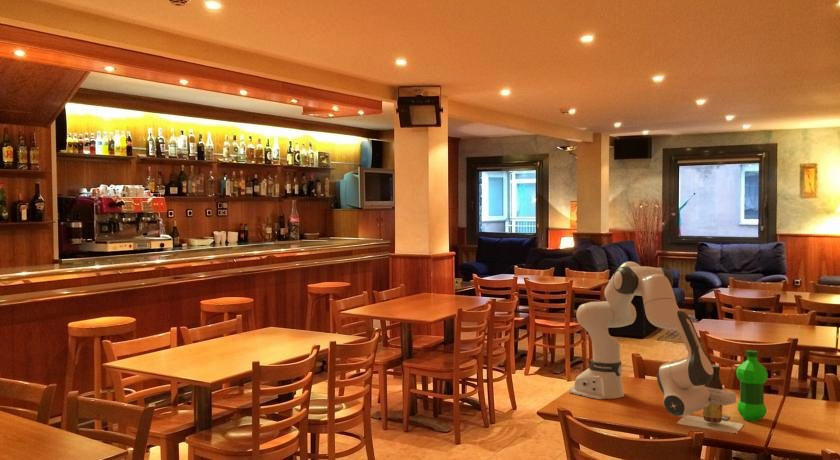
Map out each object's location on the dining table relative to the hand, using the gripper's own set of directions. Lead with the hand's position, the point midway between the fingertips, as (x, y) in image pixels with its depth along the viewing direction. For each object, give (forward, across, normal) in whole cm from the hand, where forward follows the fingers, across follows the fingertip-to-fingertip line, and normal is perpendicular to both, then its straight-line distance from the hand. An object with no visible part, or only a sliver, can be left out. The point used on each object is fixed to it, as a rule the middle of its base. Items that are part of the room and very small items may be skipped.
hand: (714, 389), depth 247 cm
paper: (-1, +1, +13) cm, 13 cm away
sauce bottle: (-1, 0, +11) cm, 11 cm away
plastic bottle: (+16, -6, +13) cm, 22 cm away
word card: (+9, +3, +12) cm, 16 cm away
